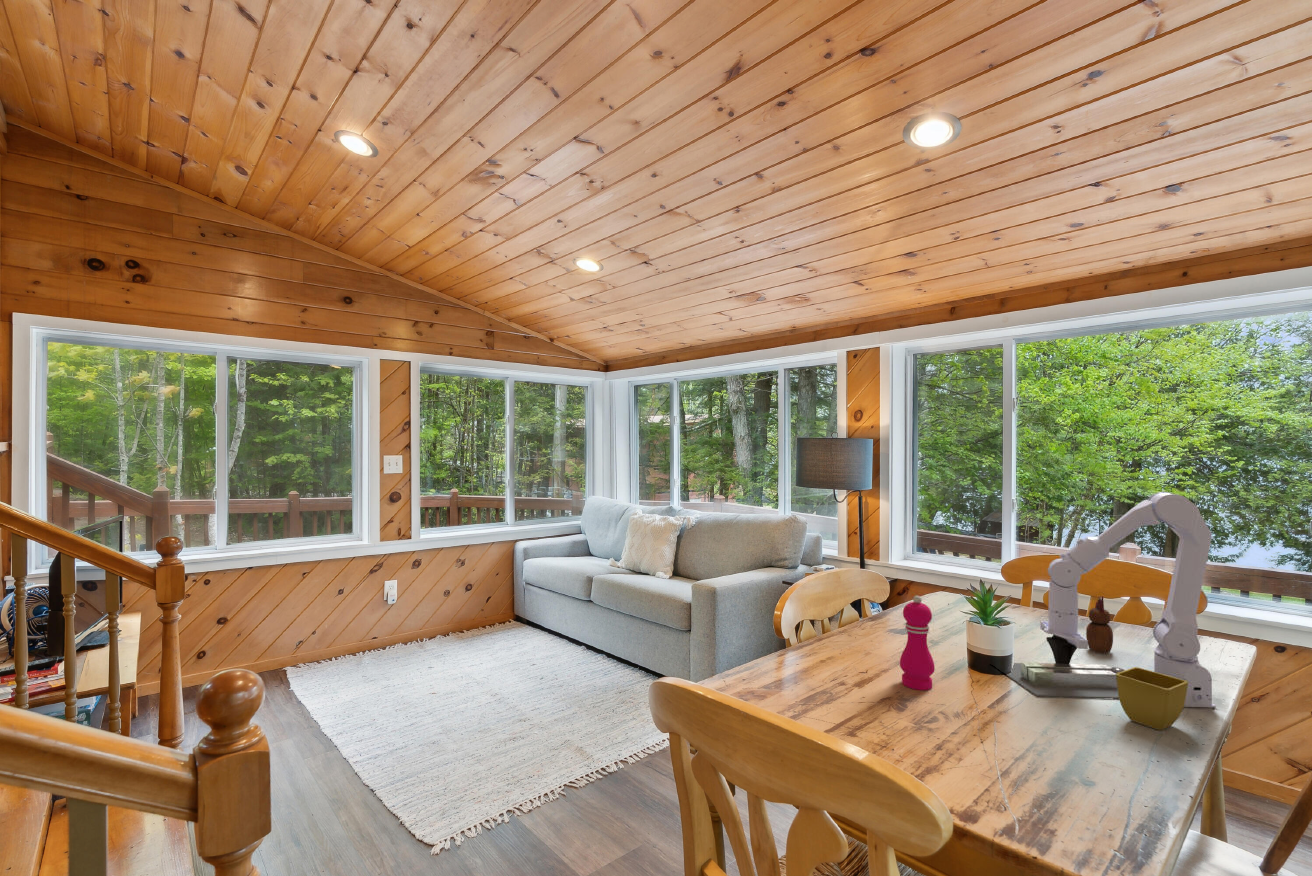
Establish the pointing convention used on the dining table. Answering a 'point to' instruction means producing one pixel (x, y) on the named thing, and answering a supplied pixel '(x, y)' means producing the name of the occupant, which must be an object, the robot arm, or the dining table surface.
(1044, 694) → the mat
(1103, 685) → the fixed arm
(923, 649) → the pepper mill
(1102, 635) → the wooden figurine
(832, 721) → the dining table surface
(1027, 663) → the hinged arm
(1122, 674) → the flower pot
